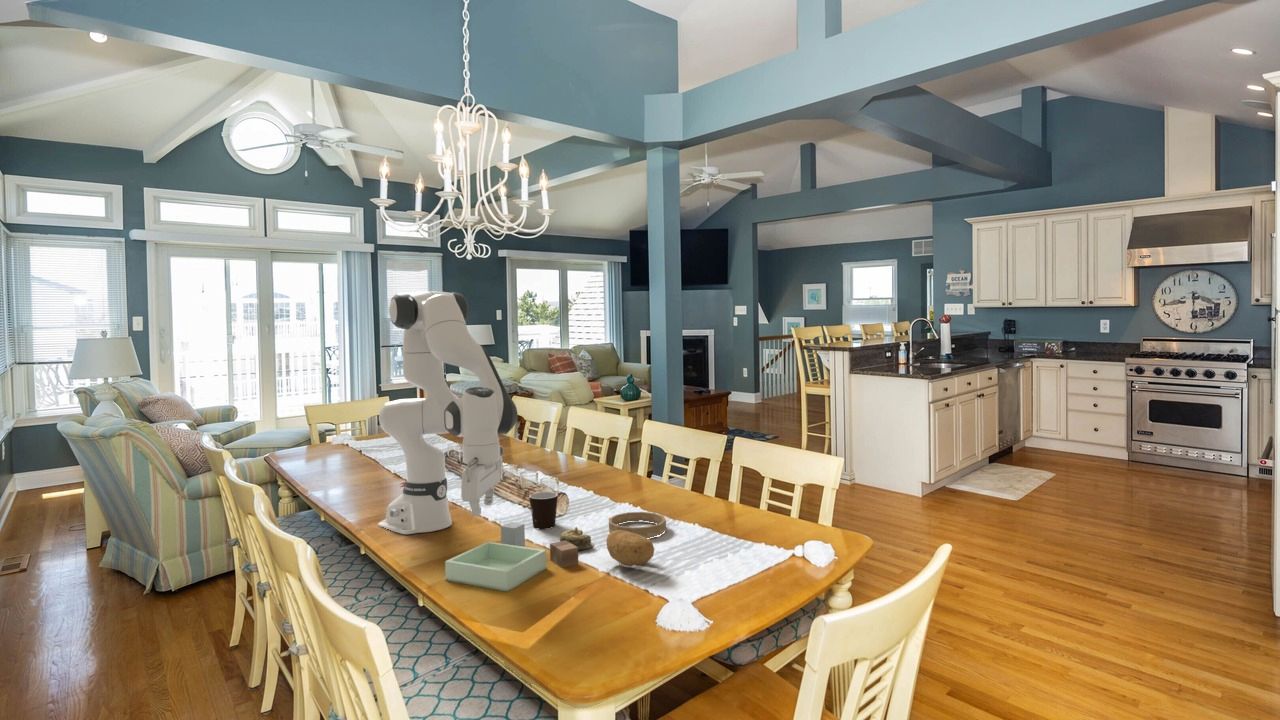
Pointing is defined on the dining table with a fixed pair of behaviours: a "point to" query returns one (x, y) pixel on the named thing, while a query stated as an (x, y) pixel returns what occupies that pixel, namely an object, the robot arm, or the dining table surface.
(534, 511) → the coffee mug
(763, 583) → the dining table surface
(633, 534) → the potato
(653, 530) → the ring
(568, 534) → the cake
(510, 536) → the grey block
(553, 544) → the walnut block
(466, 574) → the serving tray
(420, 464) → the robot arm
